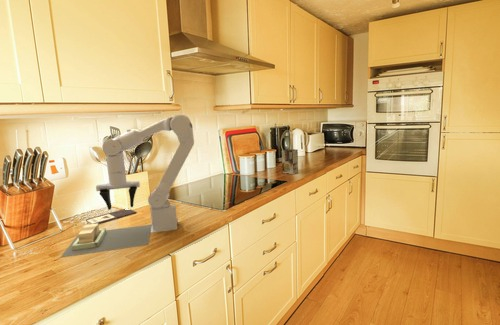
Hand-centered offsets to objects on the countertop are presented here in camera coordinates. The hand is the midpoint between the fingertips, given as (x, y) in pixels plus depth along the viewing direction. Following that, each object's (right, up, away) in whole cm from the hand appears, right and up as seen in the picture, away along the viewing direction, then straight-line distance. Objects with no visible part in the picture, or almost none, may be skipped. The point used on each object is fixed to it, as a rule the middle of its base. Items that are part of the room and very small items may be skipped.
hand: (121, 207), depth 109 cm
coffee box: (+75, +9, +93) cm, 120 cm away
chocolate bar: (-12, -7, +19) cm, 24 cm away
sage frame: (-8, -11, -7) cm, 15 cm away
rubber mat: (-1, -11, -6) cm, 12 cm away
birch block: (-8, -11, -7) cm, 15 cm away
